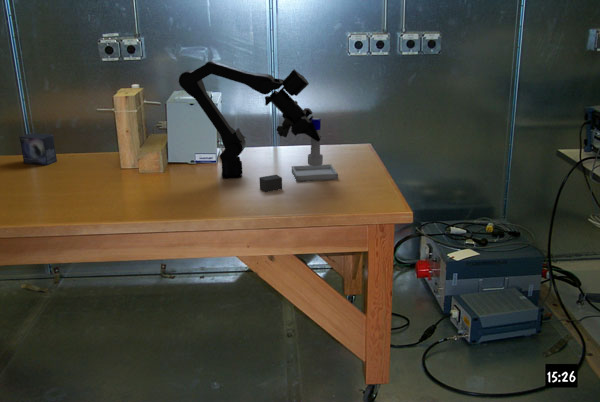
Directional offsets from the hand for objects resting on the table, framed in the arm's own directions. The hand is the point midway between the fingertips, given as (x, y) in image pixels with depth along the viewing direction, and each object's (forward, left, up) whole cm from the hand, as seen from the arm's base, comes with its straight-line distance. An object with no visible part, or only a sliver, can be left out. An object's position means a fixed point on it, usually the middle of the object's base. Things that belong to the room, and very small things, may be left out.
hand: (319, 139), depth 208 cm
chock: (-18, -10, -13) cm, 24 cm away
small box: (-100, +37, -13) cm, 107 cm away
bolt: (-2, 0, -9) cm, 9 cm away
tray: (-2, +2, -13) cm, 13 cm away
